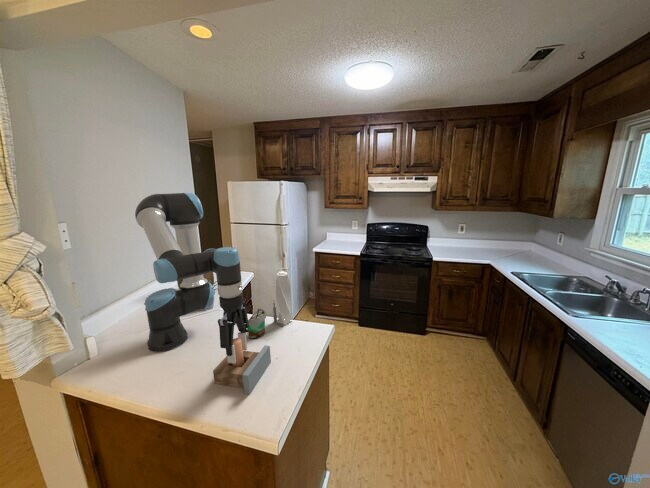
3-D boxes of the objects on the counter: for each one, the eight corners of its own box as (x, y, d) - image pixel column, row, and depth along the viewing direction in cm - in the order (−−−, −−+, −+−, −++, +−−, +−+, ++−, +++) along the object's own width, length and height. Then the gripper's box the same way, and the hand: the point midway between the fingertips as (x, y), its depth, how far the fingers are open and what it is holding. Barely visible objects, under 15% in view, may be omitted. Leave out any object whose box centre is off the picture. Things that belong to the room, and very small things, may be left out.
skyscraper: (285, 316, 136) (282, 265, 130) (296, 321, 131) (293, 268, 125) (273, 323, 130) (268, 269, 124) (283, 328, 125) (280, 272, 119)
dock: (188, 387, 88) (185, 366, 86) (217, 357, 103) (215, 339, 102) (250, 397, 83) (248, 375, 81) (271, 364, 98) (269, 345, 96)
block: (214, 383, 88) (212, 370, 87) (234, 361, 99) (232, 349, 98) (246, 388, 85) (245, 375, 84) (263, 364, 96) (262, 352, 95)
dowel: (231, 374, 90) (226, 344, 87) (237, 367, 94) (233, 337, 91) (241, 376, 89) (237, 345, 87) (247, 368, 93) (243, 338, 90)
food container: (260, 342, 113) (258, 321, 111) (247, 341, 114) (245, 320, 112) (271, 327, 125) (270, 308, 123) (259, 326, 126) (258, 307, 124)
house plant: (229, 303, 153) (226, 277, 150) (214, 314, 140) (210, 286, 137) (208, 301, 157) (205, 276, 153) (191, 312, 144) (187, 284, 140)
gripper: (223, 308, 76) (231, 376, 80) (255, 284, 94) (260, 340, 99) (201, 306, 77) (210, 373, 82) (236, 283, 96) (242, 339, 101)
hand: (237, 355), depth 91 cm, fingers open, 7 cm apart
